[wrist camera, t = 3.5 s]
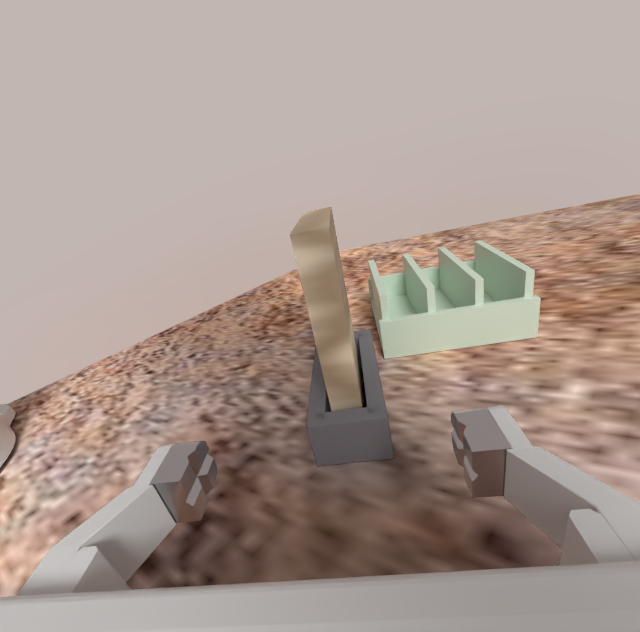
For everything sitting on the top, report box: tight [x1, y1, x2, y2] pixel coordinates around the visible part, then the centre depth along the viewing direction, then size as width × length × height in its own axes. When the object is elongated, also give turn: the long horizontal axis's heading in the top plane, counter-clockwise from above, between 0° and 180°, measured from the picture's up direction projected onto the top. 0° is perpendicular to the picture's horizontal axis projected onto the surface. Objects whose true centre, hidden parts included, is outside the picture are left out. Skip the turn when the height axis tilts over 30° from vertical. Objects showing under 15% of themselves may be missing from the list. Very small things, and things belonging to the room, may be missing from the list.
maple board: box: [290, 207, 365, 411], centre depth 21 cm, size 2×7×13 cm, turn 178°
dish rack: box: [368, 240, 541, 359], centre depth 30 cm, size 12×11×6 cm
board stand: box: [306, 329, 394, 466], centre depth 23 cm, size 4×10×3 cm, turn 177°
